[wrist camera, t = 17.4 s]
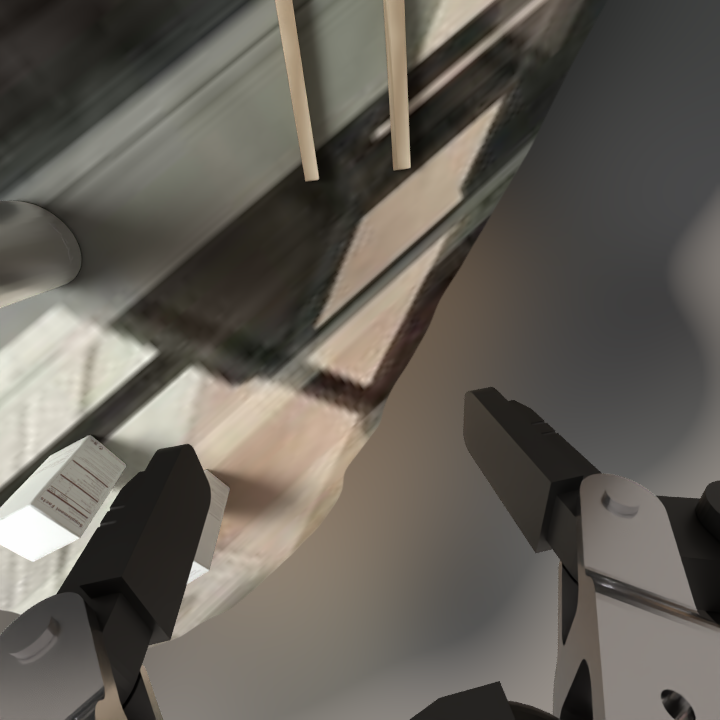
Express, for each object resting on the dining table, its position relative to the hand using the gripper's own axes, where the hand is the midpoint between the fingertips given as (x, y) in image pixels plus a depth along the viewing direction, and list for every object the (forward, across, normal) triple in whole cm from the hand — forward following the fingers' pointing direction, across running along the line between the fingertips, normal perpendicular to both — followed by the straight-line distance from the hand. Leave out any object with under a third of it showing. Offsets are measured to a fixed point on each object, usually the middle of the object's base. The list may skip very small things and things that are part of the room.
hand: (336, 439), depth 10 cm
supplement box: (+36, +38, +25) cm, 58 cm away
